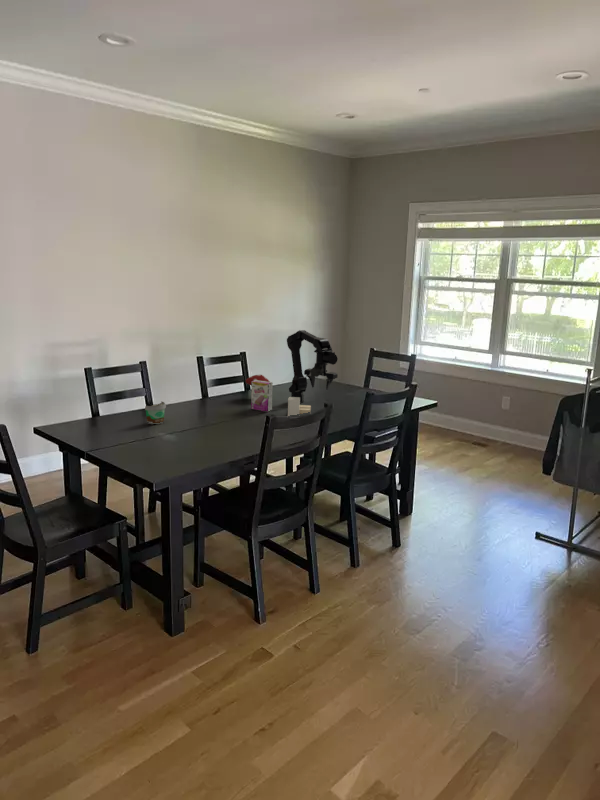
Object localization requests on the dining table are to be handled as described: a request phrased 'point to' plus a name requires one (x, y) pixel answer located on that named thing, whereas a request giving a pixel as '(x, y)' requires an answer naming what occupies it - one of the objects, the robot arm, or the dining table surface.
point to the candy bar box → (261, 395)
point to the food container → (155, 413)
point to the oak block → (305, 409)
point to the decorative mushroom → (256, 377)
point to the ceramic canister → (293, 406)
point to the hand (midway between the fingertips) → (320, 388)
